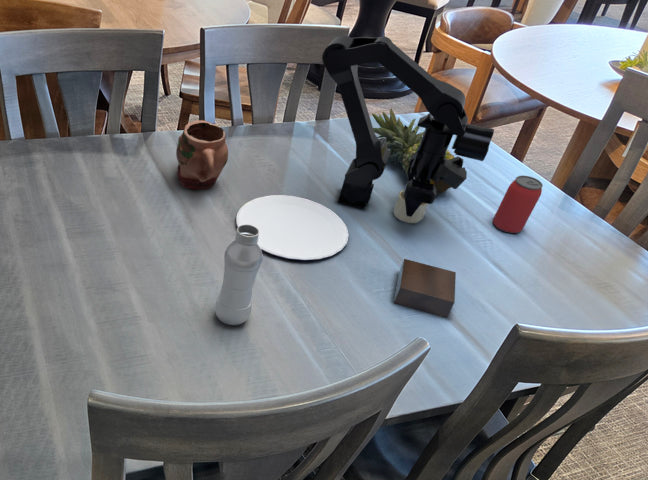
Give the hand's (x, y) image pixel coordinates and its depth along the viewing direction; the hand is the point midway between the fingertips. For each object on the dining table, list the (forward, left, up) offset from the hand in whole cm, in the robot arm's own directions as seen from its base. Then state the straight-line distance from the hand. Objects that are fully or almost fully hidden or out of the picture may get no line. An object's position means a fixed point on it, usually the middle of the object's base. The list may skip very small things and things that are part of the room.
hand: (410, 208), depth 147 cm
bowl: (0, 0, -2) cm, 2 cm away
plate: (-24, -18, -2) cm, 30 cm away
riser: (+5, -29, -2) cm, 30 cm away
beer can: (+22, +6, -2) cm, 23 cm away
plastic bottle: (-28, -52, -2) cm, 59 cm away
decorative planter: (-49, -9, -2) cm, 50 cm away
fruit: (-2, +23, -2) cm, 23 cm away
